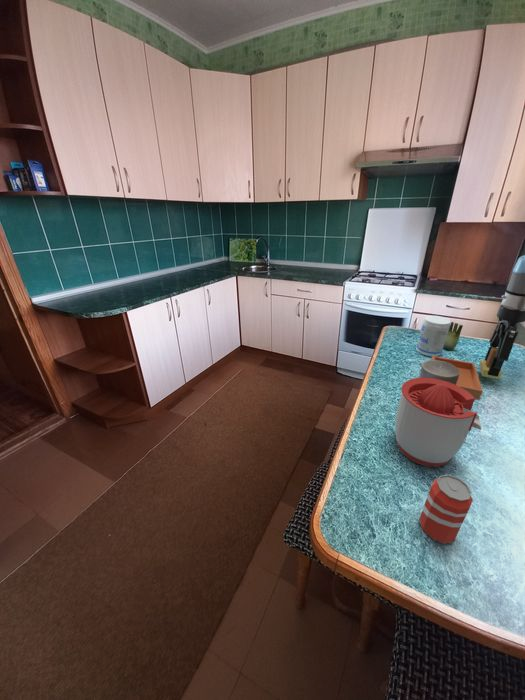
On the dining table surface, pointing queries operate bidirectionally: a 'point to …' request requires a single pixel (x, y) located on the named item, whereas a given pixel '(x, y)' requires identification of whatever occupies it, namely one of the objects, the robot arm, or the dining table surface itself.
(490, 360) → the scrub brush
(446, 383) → the citrus juicer
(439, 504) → the beverage can
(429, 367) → the pillar candle
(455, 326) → the fennel bulb
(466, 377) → the orange brown tray
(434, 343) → the supplement tub
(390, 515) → the dining table surface
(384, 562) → the dining table surface
